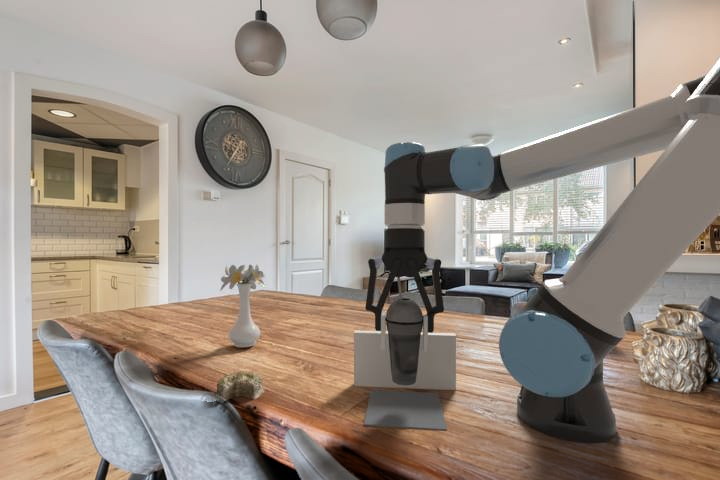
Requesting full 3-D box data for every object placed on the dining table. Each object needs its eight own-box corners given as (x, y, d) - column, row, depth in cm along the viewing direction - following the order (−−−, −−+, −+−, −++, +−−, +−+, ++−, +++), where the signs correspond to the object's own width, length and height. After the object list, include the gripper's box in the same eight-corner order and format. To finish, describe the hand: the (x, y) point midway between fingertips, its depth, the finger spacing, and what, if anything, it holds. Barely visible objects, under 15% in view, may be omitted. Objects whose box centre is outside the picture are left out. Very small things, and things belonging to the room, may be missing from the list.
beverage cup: (422, 390, 63) (423, 277, 63) (382, 386, 65) (382, 276, 65) (423, 374, 71) (424, 273, 70) (387, 371, 72) (387, 272, 72)
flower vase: (263, 334, 122) (263, 261, 121) (266, 351, 104) (266, 265, 104) (222, 338, 118) (222, 262, 117) (219, 355, 100) (218, 266, 100)
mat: (438, 397, 74) (438, 393, 74) (446, 433, 60) (446, 429, 60) (370, 393, 75) (370, 389, 75) (363, 428, 62) (363, 424, 62)
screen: (454, 387, 78) (454, 333, 78) (456, 391, 76) (456, 335, 76) (355, 383, 81) (355, 330, 81) (353, 386, 79) (353, 332, 79)
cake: (214, 390, 78) (213, 366, 78) (261, 383, 82) (261, 360, 81) (214, 411, 68) (214, 383, 68) (268, 401, 72) (268, 375, 72)
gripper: (455, 228, 70) (455, 344, 70) (354, 228, 72) (354, 341, 73) (462, 226, 63) (461, 357, 63) (348, 227, 65) (348, 352, 65)
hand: (404, 348), depth 68 cm, fingers closed on beverage cup, 7 cm apart
